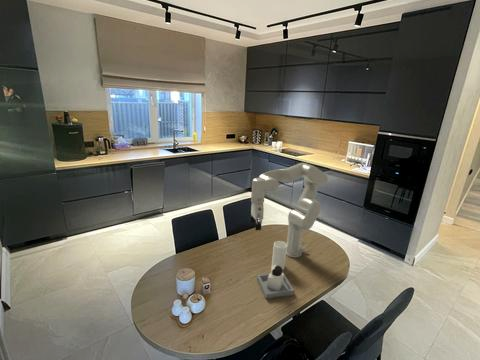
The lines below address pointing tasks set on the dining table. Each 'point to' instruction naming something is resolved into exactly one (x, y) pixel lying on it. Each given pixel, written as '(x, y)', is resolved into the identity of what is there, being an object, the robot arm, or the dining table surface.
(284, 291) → the tray
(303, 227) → the robot arm
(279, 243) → the cup
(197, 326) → the dining table surface
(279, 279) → the medicine bottle
